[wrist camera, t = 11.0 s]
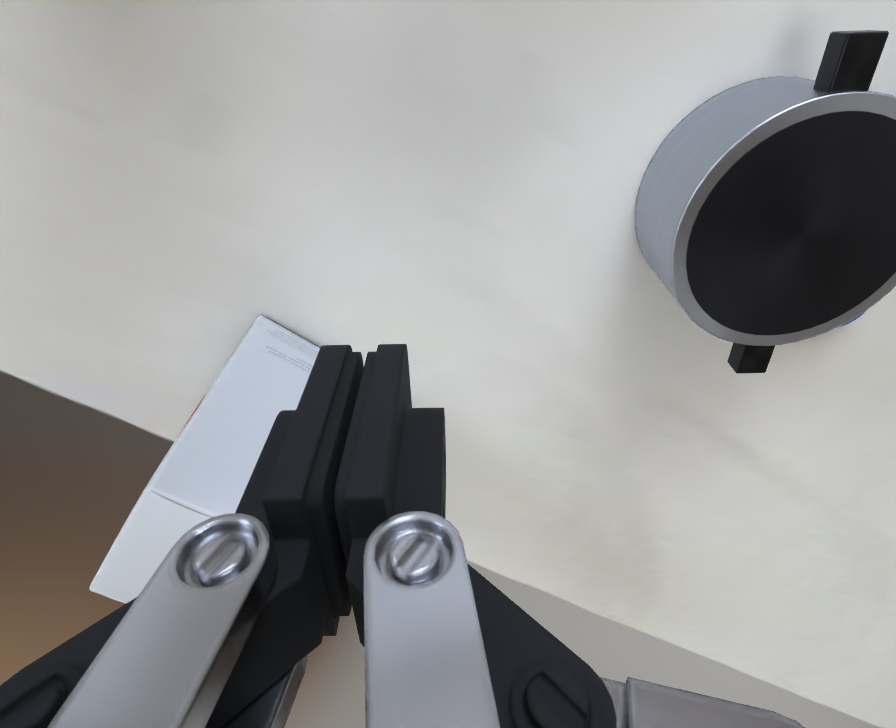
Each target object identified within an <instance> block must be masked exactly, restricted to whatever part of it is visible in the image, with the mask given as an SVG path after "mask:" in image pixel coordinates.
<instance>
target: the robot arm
mask: <svg viewBox="0 0 896 728" xmlns="http://www.w3.org/2000/svg"><path fill="white" fill-rule="evenodd" d="M445 500H446V446H445V416H444V408H412V403H411V390H410V377H409V365H408V352H407V345H406V344H381V345H378V348H377V352H368V354H367V357H366V361H365V366H363V359H362V354H361V352H352V348H351V346H350V345H324V346H321V348H320V350H319V352H318V355H317V357H316V360H315V363H314V365H313V368H312V370H311V373H310V375H309V378H308V381H307V383H306V386H305V388H304V391H303V393H302V396H301V399H300V401H299V404H298V406H297V409H296V410H282V411H281V412H279V414H278V415H277V417H276V419H275V421H274V424H273V426H272V428H271V431H270V433H269V435H268V438H267V440H266V442H265V444H264V447H263V449H262V451H261V454H260V456H259V458H258V461H257V463H256V465H255V468H254V470H253V472H252V475H251V477H250V479H249V482H248V484H247V486H246V489H245V491H244V493H243V496H242V498H241V500H240V503H239V505H238V507H237V510H236V512H235V513H232V514H224V515H220V516H216V517H212V518H210V519H207V520H205V521H203V522H201V523H199V524H197V525H196V526H194V527H193V528H191V529H190V530H189V531H187V532H186V533H185V534H183V535H182V537H181V538H180V539H179V540H178V541H177V542H176V543H175V544H174V546H173V547H172V548H171V550H170V551H169V552H168V554H167V555H166V557H165V558H164V560H163V561H162V563H161V564H160V565H159V567H158V568H157V570H156V571H155V573H154V574H153V576H152V577H151V578H150V580H149V581H148V583H147V584H146V586H145V587H144V588H143V590H142V591H141V593H140V594H139V596H138V597H136V598H135V599H133V600H131V601H130V602H128V603H127V604H125V605H123V606H122V607H120V608H119V609H117V610H115V611H114V612H112V613H111V614H109V615H108V616H106V617H104V618H103V619H101V620H100V621H98V622H96V623H95V624H93V625H92V626H90V627H88V628H87V629H85V630H84V631H82V632H81V633H79V634H77V635H76V636H74V637H72V638H71V639H69V640H68V641H67V642H65V643H63V644H61V645H60V646H58V647H57V648H55V649H54V650H52V651H50V652H49V653H47V654H45V655H44V656H42V657H41V658H39V659H37V660H36V661H34V662H33V663H31V664H30V665H28V666H26V667H25V668H23V669H22V670H20V671H19V672H18V673H16V674H15V675H14V676H12V677H11V678H10V679H8V680H7V681H6V682H4V683H3V684H2V685H1V686H0V728H284V727H285V725H286V722H287V719H288V716H289V714H290V711H291V708H292V705H293V703H294V700H295V697H296V695H297V692H298V689H299V686H300V684H301V681H302V678H303V675H304V673H305V668H306V663H307V654H309V653H310V652H311V651H312V650H313V649H315V648H316V647H317V646H318V645H319V644H321V642H322V637H323V636H336V633H337V628H338V622H339V617H340V616H349V614H350V611H351V607H352V606H353V611H354V616H355V620H356V625H357V630H358V634H359V639H360V643H361V644H362V645H363V646H364V647H365V714H366V715H365V717H366V728H805V727H803V726H802V725H801V724H799V723H798V722H797V721H796V720H793V719H791V718H788V717H786V716H783V715H781V714H778V713H776V712H774V711H769V710H765V709H760V708H757V707H752V706H748V705H744V704H740V703H735V702H731V701H727V700H723V699H719V698H714V697H710V696H706V695H701V694H698V693H693V692H689V691H685V690H681V689H676V688H672V687H668V686H663V685H660V684H655V683H651V682H647V681H643V680H638V679H634V678H630V677H628V678H627V681H626V683H622V682H618V681H614V680H610V679H606V678H601V677H599V676H598V675H597V674H596V673H595V672H594V671H593V669H592V668H591V667H590V666H589V665H588V664H586V663H585V662H584V661H583V660H581V658H579V657H578V656H577V655H576V654H575V653H573V652H572V651H571V650H570V649H569V648H567V647H566V646H565V645H564V644H563V643H562V642H560V641H559V640H558V639H557V638H556V637H554V636H553V635H552V634H551V633H550V632H548V631H547V630H546V629H545V628H544V627H542V626H541V625H540V624H539V623H538V622H536V621H535V620H534V619H533V618H532V617H530V616H529V615H528V614H527V613H526V612H525V611H523V610H522V609H521V608H520V607H519V606H517V605H516V604H515V603H514V602H513V601H511V600H510V599H509V598H508V597H507V596H505V595H504V594H503V593H502V592H501V591H500V590H498V589H497V588H496V587H495V586H493V585H492V584H491V583H490V582H489V581H488V580H486V579H485V578H484V577H483V576H482V575H481V574H479V573H478V572H477V571H476V570H475V569H473V568H472V567H471V566H470V565H469V564H467V560H466V555H465V550H464V545H463V542H462V539H461V537H460V534H459V532H458V531H457V529H456V528H455V527H454V526H453V525H452V524H451V523H450V522H449V521H448V520H446V519H445Z"/></svg>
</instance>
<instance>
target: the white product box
mask: <svg viewBox="0 0 896 728" xmlns="http://www.w3.org/2000/svg"><path fill="white" fill-rule="evenodd" d="M319 350H320V348H318V347H317V346H315V345H313V344H311V343H310V342H308V341H306V340H304V339H303V338H301V337H299V336H297V335H296V334H294V333H292V332H290V331H288V330H287V329H285V328H283V327H281V326H280V325H278V324H276V323H274V322H272V321H271V320H269V319H267V318H265V317H264V316H261V315H259V316H258V317H257V318H256V320H255V321H254V323H253V324H252V326H251V327H250V329H249V330H248V332H247V333H246V335H245V336H244V338H243V339H242V341H241V342H240V343H239V345H238V346H237V348H236V349H235V351H234V352H233V354H232V355H231V357H230V358H229V360H228V361H227V363H226V364H225V366H224V367H223V368H222V370H221V371H220V373H219V374H218V376H217V377H216V379H215V380H214V382H213V383H212V385H211V387H210V388H209V390H208V391H207V393H206V394H205V396H204V397H203V399H202V400H201V402H200V403H199V405H198V406H197V408H196V409H195V411H194V412H193V414H192V415H191V417H190V419H189V420H188V422H187V423H186V425H185V426H184V428H183V429H182V431H181V432H180V434H179V436H178V437H177V439H176V440H175V442H174V443H173V445H172V447H171V448H170V450H169V451H168V453H167V454H166V456H165V457H164V459H163V461H162V462H161V464H160V465H159V467H158V468H157V470H156V472H155V473H154V475H153V477H152V478H151V480H150V482H149V483H148V484H147V486H146V488H145V489H144V491H143V493H142V494H141V496H140V498H139V499H138V501H137V503H136V504H135V506H134V508H133V509H132V511H131V513H130V515H129V517H128V518H127V520H126V522H125V524H124V525H123V527H122V529H121V531H120V532H119V534H118V536H117V538H116V540H115V541H114V543H113V545H112V547H111V549H110V551H109V553H108V554H107V556H106V558H105V560H104V561H103V563H102V565H101V567H100V569H99V570H98V572H97V574H96V576H95V578H94V580H93V581H92V583H91V586H90V591H93V592H96V593H99V594H101V595H104V596H106V597H109V598H111V599H114V600H117V601H120V602H123V603H126V604H127V603H128V602H130V601H131V600H133V599H135V598H136V597H138V596H139V594H140V593H141V591H142V590H143V588H144V587H145V586H146V584H147V583H148V581H149V580H150V578H151V577H152V576H153V574H154V573H155V571H156V570H157V568H158V567H159V565H160V564H161V563H162V561H163V560H164V558H165V557H166V555H167V554H168V552H169V551H170V550H171V548H172V547H173V546H174V544H175V543H176V542H177V541H178V540H179V539H180V538H181V537H182V535H183V534H185V533H186V532H187V531H189V530H190V529H191V528H193V527H194V526H196V525H197V524H199V523H201V522H203V521H205V520H207V519H210V518H212V517H216V516H220V515H224V514H232V513H235V512H236V510H237V507H238V505H239V503H240V500H241V498H242V496H243V493H244V491H245V489H246V486H247V484H248V482H249V479H250V477H251V475H252V472H253V470H254V468H255V465H256V463H257V461H258V458H259V456H260V454H261V451H262V449H263V447H264V444H265V442H266V440H267V438H268V435H269V433H270V431H271V428H272V426H273V424H274V421H275V419H276V417H277V415H278V414H279V412H281V411H282V410H296V409H297V406H298V404H299V401H300V399H301V396H302V393H303V391H304V388H305V386H306V383H307V381H308V378H309V375H310V373H311V370H312V368H313V365H314V363H315V360H316V357H317V355H318V352H319Z"/></svg>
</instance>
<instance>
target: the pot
mask: <svg viewBox="0 0 896 728" xmlns="http://www.w3.org/2000/svg"><path fill="white" fill-rule="evenodd" d="M888 34H889V32H888V31H873V30H865V31H840V32H832V33H831V34H830V36H829V39H828V42H827V46H826V49H825V52H824V55H823V58H822V62H821V65H820V68H819V71H818V74H817V78H816V81H814V80H809V79H804V78H798V77H785V76H777V77H768V78H761V79H757V80H753V81H749V82H745V83H743V84H740V85H737V86H735V87H732V88H729V89H728V90H726V91H724V92H722V93H720V94H718V95H716V96H714V97H712V98H711V99H709V100H708V101H706V102H705V103H703V104H702V105H700V106H699V107H698V108H696V109H695V110H694V111H693V112H692V113H690V114H689V115H688V116H687V117H686V118H684V119H683V120H682V121H681V122H680V123H679V124H678V125H677V126H676V128H675V129H674V130H673V131H672V132H671V133H670V134H669V135H668V137H667V138H666V139H665V140H664V142H663V143H662V144H661V146H660V147H659V149H658V150H657V152H656V154H655V155H654V157H653V158H652V160H651V162H650V164H649V166H648V168H647V170H646V172H645V175H644V177H643V180H642V183H641V186H640V189H639V193H638V197H637V202H636V211H635V229H636V235H637V240H638V244H639V246H640V249H641V252H642V254H643V256H644V258H645V260H646V262H647V263H648V265H649V266H650V267H651V268H652V270H653V271H654V272H655V274H656V275H657V276H658V277H659V279H660V280H661V281H662V283H663V284H664V285H665V286H666V288H667V289H668V290H669V292H670V293H671V294H672V295H673V297H674V298H675V299H676V301H677V302H678V303H679V304H680V306H681V307H682V308H683V310H684V311H685V312H686V313H687V315H688V316H689V317H690V318H691V319H692V320H693V321H694V322H695V323H696V324H697V325H698V326H699V327H701V328H702V329H704V330H705V331H707V332H708V333H710V334H712V335H714V336H716V337H718V338H721V339H723V340H726V341H730V342H733V346H732V349H731V352H730V355H729V358H728V363H729V364H730V366H731V367H732V368H733V369H734V371H735V372H736V373H765V372H766V369H767V367H768V364H769V361H770V358H771V356H772V353H773V350H774V347H775V345H782V344H787V343H793V342H798V341H801V340H805V339H808V338H812V337H815V336H817V335H820V334H823V333H825V332H828V331H830V330H832V329H834V328H836V327H838V326H841V325H843V324H845V323H846V322H848V321H850V320H852V319H853V318H855V317H857V316H858V315H860V314H862V313H863V312H864V311H866V310H867V309H869V308H870V307H871V306H873V305H874V304H876V303H877V302H878V301H879V300H881V299H882V298H883V297H884V296H885V295H887V294H888V293H889V292H890V291H891V290H892V289H893V288H894V287H895V286H896V97H894V96H892V95H887V94H882V93H877V92H872V91H868V89H869V86H870V83H871V81H872V78H873V75H874V73H875V70H876V67H877V64H878V62H879V59H880V56H881V53H882V51H883V48H884V45H885V42H886V40H887V37H888Z"/></svg>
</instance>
